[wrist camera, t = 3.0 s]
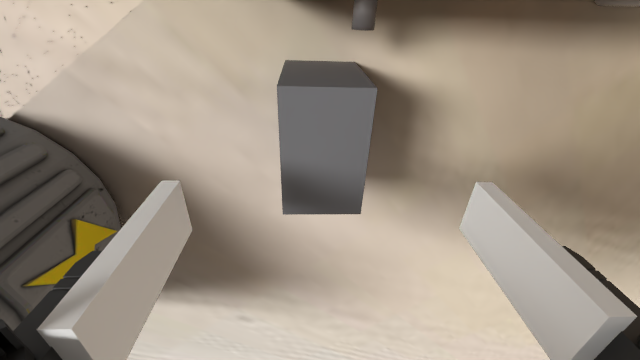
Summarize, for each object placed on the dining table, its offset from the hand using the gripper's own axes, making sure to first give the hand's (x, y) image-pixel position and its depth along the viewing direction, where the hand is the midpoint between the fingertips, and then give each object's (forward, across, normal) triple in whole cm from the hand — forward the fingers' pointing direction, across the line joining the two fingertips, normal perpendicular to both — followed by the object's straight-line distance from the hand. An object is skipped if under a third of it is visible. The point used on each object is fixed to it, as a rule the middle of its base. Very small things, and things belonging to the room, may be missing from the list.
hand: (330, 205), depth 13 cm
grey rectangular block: (+11, 0, 0) cm, 11 cm away
